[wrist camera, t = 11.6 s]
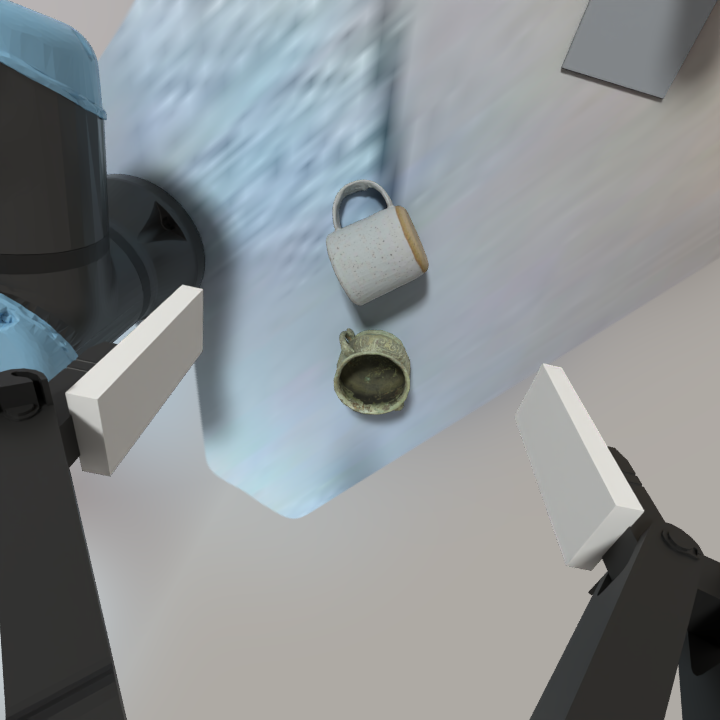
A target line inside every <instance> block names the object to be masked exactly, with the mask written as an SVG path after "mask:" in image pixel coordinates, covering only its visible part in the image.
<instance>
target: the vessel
mask: <svg viewBox="0 0 720 720" xmlns="http://www.w3.org/2000/svg"><path fill="white" fill-rule="evenodd" d="M346 339H347V340H348V341H349V343H347V341H346ZM340 344H341V350H342V351H341V354H340V357H339V360H338V363H337V370H336V374H335V377H334V390H335V392H336V394H337V396H338V398H339V399H340V400H341V402H342V403H344V404H345V405H346V406H348V407H349V408H351V409H352V410H354V411H356V412H360V413H363V414H375V415H378V414H385V413H388V412H391V411H393V410H395V411H400V410H402V408H403V406H404V401H405V400H406V398H407V395H408V392H409V390H410V378H409V375H410V359H409V357H408V355H407V353H406V351H405V348H404V346H403V344H402V342H401V340H399V339H398V338H397V337H396V336H394V335H393V334H391V333H388V332H385V331H383V330H367V331H363V332H360V333H358V334H357V335H356V336H354V332H353V331H352V330H351V329H347V331H343V332H342V333H341V334H340Z"/></svg>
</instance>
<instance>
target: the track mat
mask: <svg viewBox="0 0 720 720" xmlns="http://www.w3.org/2000/svg"><path fill="white" fill-rule="evenodd" d="M716 2H717V0H590V1H589V3H588V5H587V8H586V10H585V13H584V15H583V17H582V20H581V22H580V24H579V27H578V29H577V32H576V34H575V36H574V39H573V41H572V43H571V46H570V48H569V51H568V53H567V55H566V58H565V60H564V62H563V65H562V67H561V68H564V69H567V70H571V71H574V72H577V73H581V74H584V75H587V76H590V77H594V78H597V79H600V80H603V81H607V82H610V83H613V84H616V85H620V86H623V87H626V88H630V89H633V90H636V91H639V92H643V93H646V94H649V95H652V96H656V97H659V98H664V97H665V95H666V93H667V91H668V89H669V88H670V86H671V84H672V82H673V80H674V79H675V77H676V75H677V73H678V71H679V69H680V68H681V66H682V64H683V62H684V60H685V58H686V57H687V55H688V53H689V51H690V49H691V47H692V46H693V44H694V42H695V40H696V38H697V37H698V35H699V33H700V31H701V29H702V27H703V26H704V24H705V22H706V20H707V18H708V16H709V15H710V13H711V11H712V9H713V7H714V5H715V4H716Z"/></svg>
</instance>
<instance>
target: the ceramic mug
mask: <svg viewBox="0 0 720 720" xmlns="http://www.w3.org/2000/svg"><path fill="white" fill-rule="evenodd" d="M368 188H374V189H376V190H377V191H379V192H380V193H381V194H382V196H383V197H384V199H385V201H386V203H387V209H384V210H381V211H379V212H377V213H375V214H373V215H371V216H369V217H367V218H365V219H362V220H360V221H357V222H355V223H353V224H350V225H348V226H346V227H344V228H341V225H340V220H339V209H340V204H341V202H342V200H343V199H344V198H345V197H346V196H347V195H350V194H352V193H355V192H357V191H361V190H364V191H366V190H367V189H368ZM333 223H334V228H335V231H334V232H333V233H331V234H329V235H328V236H327V238H326V246H327V251H328V255H329V258H330V261H331V263H332V266H333V269H334V271H335V274H336V276H337V278H338V280H339V282H340V284H341V286H342V287H343V289H344V290H345V292H346V294H347V295H348V297H349V298H350V300H351V301H352V302H353V303H355V304H356V305H359V306H361V305H364V304H366V303H368V302H370V301H372V300H374V299H376V298H378V297H380V296H382V295H384V294H386V293H388V292H390V291H392V290H394V289H396V288H398V287H400V286H402V285H405V284H407V283H409V282H411V281H413V280H415V279H417V278H418V277H420V276H421V275H423V274H424V273H425V272H426V271H427V269H428V266H429V264H428V260H427V257H426V254H425V251H424V249H423V246H422V244H421V241H420V239H419V236H418V234H417V232H416V229H415V227H414V225H413V223H412V221H411V218H410V216H409V214H408V212H407V211H406V209H405V208H403V207H401V206H393V204H392V201H391V199H390V197H389V196H388V194H387V193H386V192H385V190H384V189H383V188H382V187H381V186H380V185H378V184H377V183H375V182H373V181H370V180H357V181H354V182H351V183H349V184H347V185H345V186H344V187H343V188H341V189H340V191H339V192H338V193H337V195H336V197H335V200H334V203H333Z"/></svg>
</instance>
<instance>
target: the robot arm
mask: <svg viewBox="0 0 720 720" xmlns="http://www.w3.org/2000/svg"><path fill="white" fill-rule="evenodd" d="M104 120H107V114H106V112H105V110H104V109H103V108H102V98H101V88H100V78H99V69H98V62H97V58H96V55H95V53H94V51H93V49H92V47H91V45H90V44H89V43H88V41H87V40H86V39H85V38H84V37H83V36H82V35H81V34H80V33H79V32H78V31H77V30H75V29H74V28H73V27H71V26H69V25H67V24H65V23H63V22H61V21H58V20H56V19H53V18H51V17H48V16H46V15H43V14H41V13H38V12H36V11H33V10H31V9H28V8H26V7H23V6H21V5H18V4H16V3H13V2H11V1H8V0H0V634H1V648H2V664H3V678H4V695H5V710H6V720H127V718H126V714H125V710H124V706H123V701H122V696H121V692H120V688H119V684H118V679H117V674H116V670H115V666H114V661H113V657H112V653H111V648H110V644H109V639H108V636H107V631H106V626H105V623H104V618H103V613H102V609H101V604H100V600H99V596H98V591H97V587H96V582H95V578H94V574H93V569H92V565H91V561H90V556H89V552H88V548H87V543H86V539H85V535H84V530H83V526H82V521H81V517H80V512H79V508H78V504H77V499H76V496H75V491H74V486H73V482H72V477H71V473H70V469H69V467H70V466H71V465H72V464H73V463H74V462H75V460H76V459H77V458H78V457H79V458H80V463H81V467H82V471H86V472H91V473H96V474H101V475H106V476H111V475H112V473H113V472H114V471H115V469H116V468H117V467H118V465H119V464H120V463H121V461H122V460H123V458H124V457H125V456H126V454H127V453H128V452H129V450H130V449H131V448H132V446H133V445H134V444H135V442H136V441H137V439H138V438H139V437H140V435H141V434H142V433H143V431H144V430H145V429H146V427H147V426H148V425H149V423H150V422H151V420H152V419H153V418H154V416H155V415H156V414H157V412H158V411H159V410H160V408H161V407H162V406H163V404H164V403H165V402H166V400H167V398H168V397H169V396H170V395H171V393H172V392H173V391H174V389H175V388H176V387H177V385H178V384H179V382H180V381H181V380H182V379H183V377H184V376H185V374H186V373H187V372H188V370H189V369H190V367H191V366H192V365H193V364H194V362H195V361H196V360H197V358H198V357H199V355H200V354H201V353H202V351H203V289H200V288H198V287H199V285H200V283H201V281H202V278H203V274H204V267H205V257H204V249H203V245H202V241H201V238H200V236H199V233H198V231H197V229H196V227H195V225H194V223H193V222H192V220H191V218H190V217H189V215H188V214H187V213H186V211H185V210H184V209H183V208H182V207H181V205H180V204H179V203H178V202H177V201H176V200H175V199H174V198H172V197H171V196H170V195H169V194H168V193H166V192H165V191H164V190H162V189H161V188H159V187H158V186H156V185H154V184H152V183H150V182H148V181H146V180H143V179H141V178H138V177H134V176H130V175H124V174H110V175H107V171H106V150H105V129H104ZM143 319H145V320H144V321H143V322H141V323H140V324H139V325H138V326H137V327H136V328H135V329H134V330H133V331H132V332H131V333H130V334H128V335H127V337H125V338H124V339H123V340H122V341H121V342H120V343H119V344H114V343H113V342H114V341H115V340H116V339H117V338H119V337H120V336H121V335H122V334H123V333H124V332H126V331H127V330H128V329H129V328H130V327H131V326H133V325H134V324H135V323H136V322H137V321H139V320H143ZM514 418H515V421H516V424H517V426H518V429H519V432H520V435H521V438H522V441H523V444H524V446H525V449H526V452H527V455H528V458H529V461H530V464H531V467H532V470H533V472H534V475H535V478H536V481H537V484H538V487H539V490H540V493H541V495H542V498H543V501H544V504H545V506H546V510H547V513H548V516H549V518H550V521H551V524H552V527H553V530H554V533H555V535H556V538H557V541H558V544H559V547H560V550H561V553H562V556H563V559H564V561H565V564H566V566H569V567H575V568H580V569H585V570H590V571H591V570H592V569H593V568H594V567H595V566H596V565H597V563H599V562H600V560H601V559H603V561H604V563H605V566H606V568H607V570H608V572H607V573H606V574H605V575H604V576H603V577H602V578H601V579H600V580H599V581H598V582H597V583H596V584H595V586H594V587H593V588H592V589H591V590H590V591H589V594H591V595H593V596H592V598H591V600H590V602H589V604H588V606H587V607H586V609H585V611H584V613H583V615H582V617H581V619H580V621H579V623H578V625H577V627H576V629H575V631H574V633H573V635H572V637H571V639H570V641H569V643H568V645H567V647H566V649H565V651H564V653H563V655H562V657H561V659H560V661H559V663H558V665H557V667H556V669H555V671H554V673H553V675H552V677H551V679H550V680H549V682H548V684H547V686H546V688H545V690H544V692H543V694H542V696H541V698H540V700H539V702H538V704H537V706H536V708H535V710H534V712H533V714H532V716H531V718H530V720H664V718H665V714H666V710H667V706H668V702H669V698H670V694H671V690H672V686H673V682H674V679H675V675H676V670H677V667H678V665H679V677H680V692H681V704H682V718H683V720H720V563H719V562H717V561H715V560H713V559H711V558H708V557H706V556H704V554H703V552H702V551H701V549H700V547H699V545H698V544H697V543H696V542H695V541H694V540H693V539H692V538H691V537H690V536H689V535H688V534H686V533H685V532H684V531H682V530H681V529H679V528H678V527H676V526H674V525H672V524H669V523H666V522H665V521H664V520H663V518H662V516H661V514H660V513H659V511H658V510H657V508H656V506H655V505H654V503H653V501H652V500H651V498H650V496H649V495H648V493H647V492H646V490H645V488H644V487H642V483H641V482H640V480H639V478H638V477H637V476H635V472H634V470H633V469H632V467H631V465H630V464H629V462H628V460H627V459H626V458H624V457H623V456H622V455H621V454H620V453H619V452H618V451H617V450H616V449H615V448H613V447H608V446H607V445H606V444H605V442H604V440H603V439H602V437H601V435H600V433H599V432H598V430H597V428H596V427H595V425H594V423H593V421H592V419H591V418H590V416H589V414H588V413H587V411H586V409H585V407H584V406H583V404H582V402H581V401H580V399H579V397H578V395H577V393H576V392H575V390H574V388H573V387H572V385H571V383H570V382H569V380H568V378H567V376H566V374H565V373H564V371H563V369H562V368H561V367H556V366H552V365H548V364H543V363H542V365H541V367H540V369H539V371H538V373H537V375H536V377H535V378H534V380H533V382H532V384H531V386H530V388H529V390H528V392H527V394H526V395H525V397H524V399H523V401H522V403H521V405H520V407H519V409H518V411H517V412H516V414H515V416H514Z"/></svg>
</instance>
